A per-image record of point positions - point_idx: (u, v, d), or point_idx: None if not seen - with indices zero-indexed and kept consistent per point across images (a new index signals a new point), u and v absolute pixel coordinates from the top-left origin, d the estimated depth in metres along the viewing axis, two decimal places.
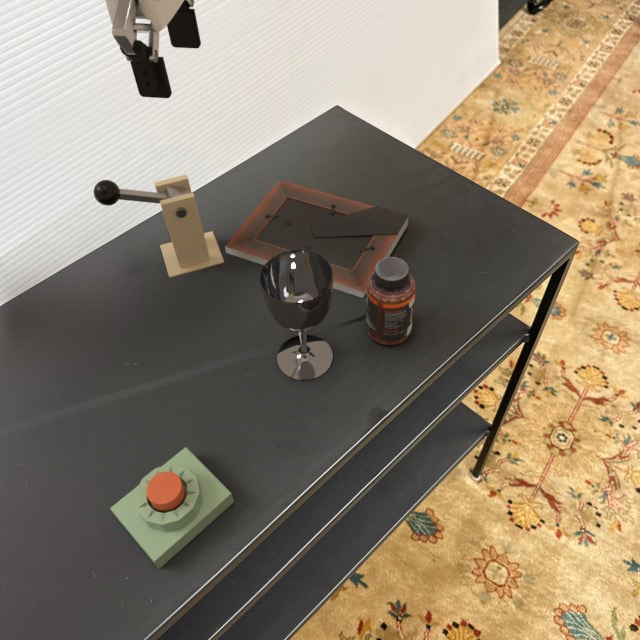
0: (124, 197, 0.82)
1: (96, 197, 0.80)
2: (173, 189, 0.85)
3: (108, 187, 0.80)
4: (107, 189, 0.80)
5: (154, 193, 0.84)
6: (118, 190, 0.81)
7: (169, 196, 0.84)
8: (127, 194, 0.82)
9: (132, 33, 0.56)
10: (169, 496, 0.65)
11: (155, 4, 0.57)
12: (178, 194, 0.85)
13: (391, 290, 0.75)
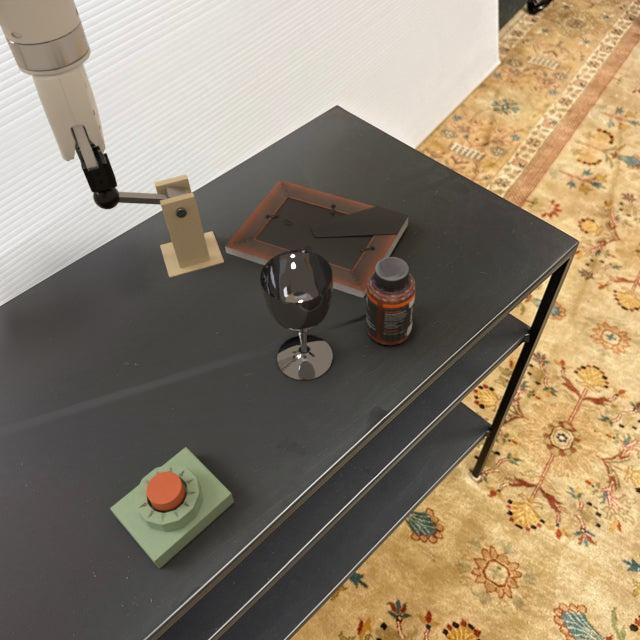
0: (124, 200, 0.82)
1: (96, 201, 0.81)
2: (172, 189, 0.85)
3: (107, 191, 0.80)
4: (106, 193, 0.80)
5: (154, 194, 0.84)
6: (117, 193, 0.81)
7: (168, 197, 0.84)
8: (126, 196, 0.82)
9: (95, 157, 0.73)
10: (169, 496, 0.65)
11: (100, 132, 0.70)
12: (177, 194, 0.85)
13: (391, 290, 0.75)
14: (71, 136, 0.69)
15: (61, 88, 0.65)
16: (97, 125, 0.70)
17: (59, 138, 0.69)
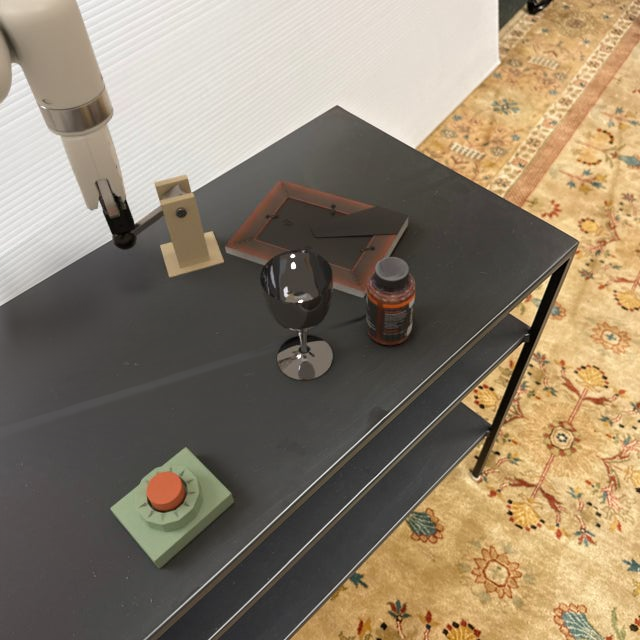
0: (137, 232, 0.87)
1: (119, 248, 0.87)
2: (166, 194, 0.85)
3: (117, 236, 0.86)
4: (118, 238, 0.86)
5: (156, 209, 0.86)
6: None
7: None
8: (136, 228, 0.86)
9: (117, 205, 0.79)
10: (169, 496, 0.65)
11: (121, 184, 0.76)
12: (170, 197, 0.85)
13: (391, 290, 0.75)
14: (95, 189, 0.75)
15: (87, 147, 0.71)
16: (119, 178, 0.75)
17: (85, 190, 0.74)
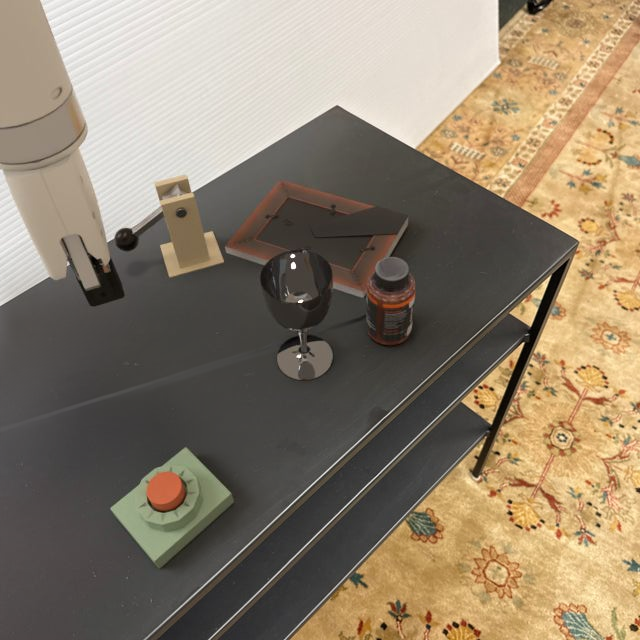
0: (139, 233, 0.87)
1: (122, 250, 0.88)
2: (166, 195, 0.85)
3: (119, 238, 0.86)
4: (120, 240, 0.86)
5: (156, 210, 0.86)
6: (129, 233, 0.86)
7: None
8: (138, 229, 0.86)
9: (96, 271, 0.52)
10: (169, 496, 0.65)
11: (102, 241, 0.49)
12: (170, 197, 0.85)
13: (391, 290, 0.75)
14: (61, 250, 0.48)
15: (46, 187, 0.44)
16: (98, 232, 0.49)
17: (44, 253, 0.48)
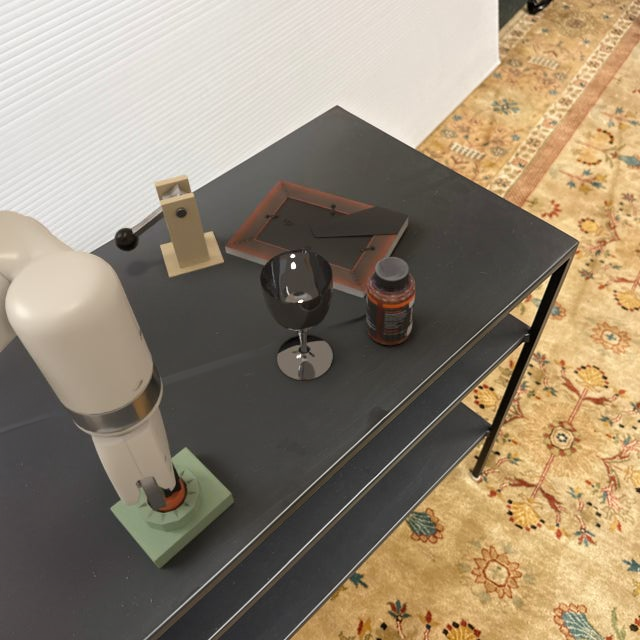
0: (139, 233, 0.87)
1: (122, 250, 0.88)
2: (166, 195, 0.85)
3: (119, 238, 0.86)
4: (120, 240, 0.86)
5: (156, 210, 0.86)
6: (129, 233, 0.86)
7: None
8: (138, 229, 0.86)
9: (162, 491, 0.58)
10: (170, 496, 0.65)
11: (171, 474, 0.55)
12: (170, 197, 0.85)
13: (391, 290, 0.75)
14: (136, 488, 0.54)
15: (128, 450, 0.50)
16: (168, 469, 0.55)
17: (121, 491, 0.54)
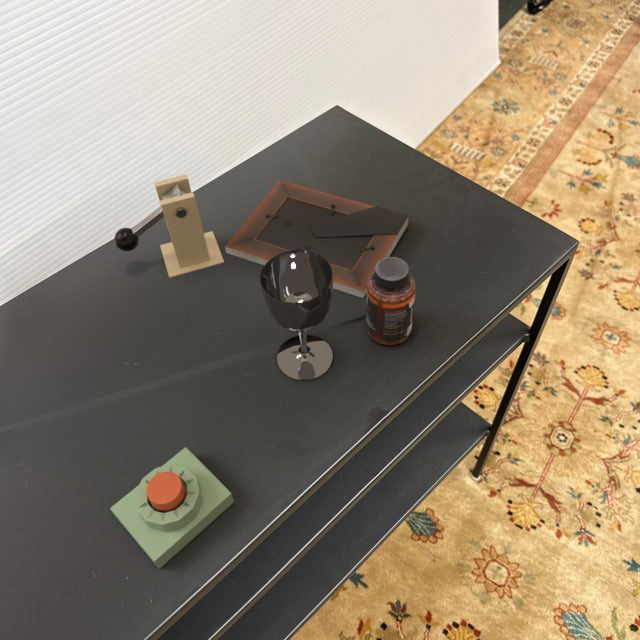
0: (139, 233, 0.87)
1: (122, 250, 0.88)
2: (166, 195, 0.85)
3: (119, 238, 0.86)
4: (120, 240, 0.86)
5: (156, 210, 0.86)
6: (129, 233, 0.86)
7: None
8: (138, 229, 0.86)
9: None
10: (169, 496, 0.65)
11: None
12: (170, 197, 0.85)
13: (391, 290, 0.75)
14: None
15: None
16: None
17: None
